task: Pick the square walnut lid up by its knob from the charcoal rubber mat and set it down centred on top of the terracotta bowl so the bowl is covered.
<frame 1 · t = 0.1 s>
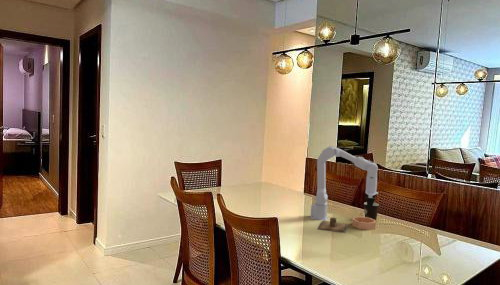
hand: (370, 207, 204), 10 cm above the table, tool pointing down, fingers open, 7 cm apart
lid: (332, 227, 197), resting on mat
mat: (332, 228, 197), on the table
bowl: (363, 226, 201), on the table
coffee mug: (370, 219, 216), on the table
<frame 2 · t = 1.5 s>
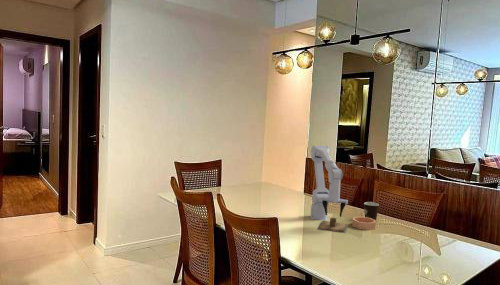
hand: (333, 215, 196), 7 cm above the table, tool pointing down, fingers open, 7 cm apart
nothing on the table moved.
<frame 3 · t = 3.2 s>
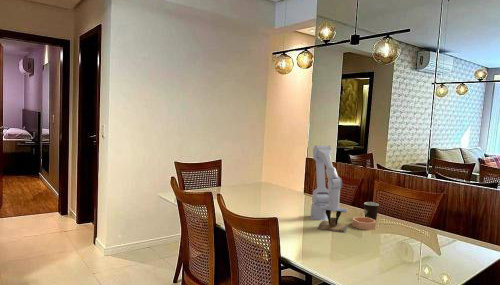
hand: (332, 224, 197), 2 cm above the table, tool pointing down, fingers closed on lid, 3 cm apart
lid: (332, 227, 197), resting on mat, touching gripper
everything else where it was.
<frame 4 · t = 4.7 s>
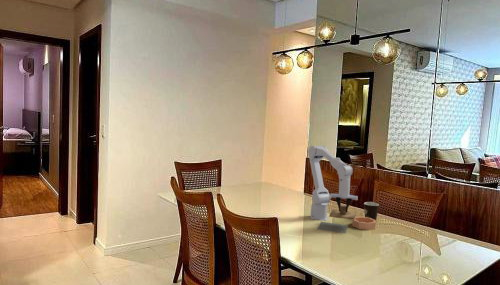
hand: (343, 211, 197), 9 cm above the table, tool pointing down, fingers closed on lid, 3 cm apart
lid: (342, 215, 197), point 7 cm above the table, touching gripper
everything else where it was.
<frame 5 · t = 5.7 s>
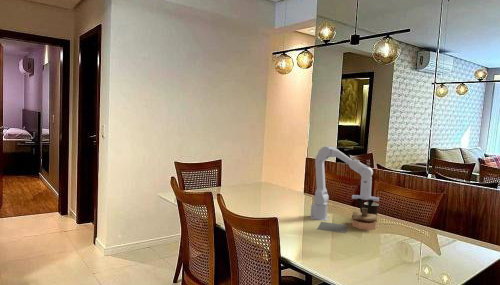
hand: (364, 212, 200), 8 cm above the table, tool pointing down, fingers closed on lid, 3 cm apart
lid: (364, 217, 200), point 5 cm above the table, touching gripper
everything else where it was.
when the fingers open (7 cm above the table, at t = 6.5 s): lid stays where it is, resting on bowl.
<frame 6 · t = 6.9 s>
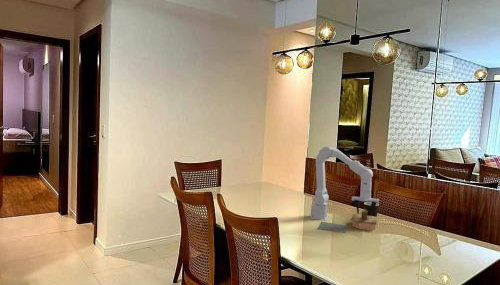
hand: (364, 214, 200), 7 cm above the table, tool pointing down, fingers open, 6 cm apart
lid: (364, 219, 200), point 4 cm above the table, touching bowl
everything else where it was.
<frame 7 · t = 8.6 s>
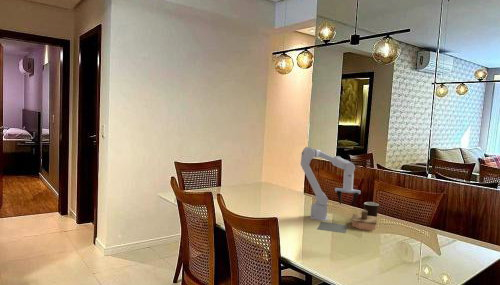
hand: (347, 204, 213), 9 cm above the table, tool pointing down, fingers open, 7 cm apart
nothing on the table moved.
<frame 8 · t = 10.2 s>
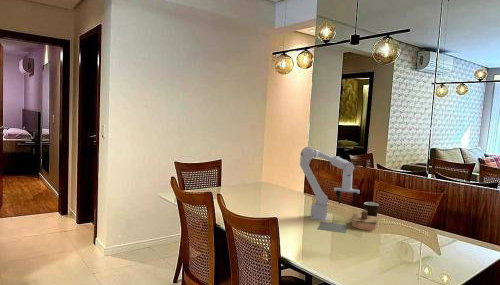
hand: (346, 204, 213), 9 cm above the table, tool pointing down, fingers open, 7 cm apart
nothing on the table moved.
at the end: lid 0.2 cm from the bowl (horizontally); lid point 4.0 cm above the table; lid tilted 0° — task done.
